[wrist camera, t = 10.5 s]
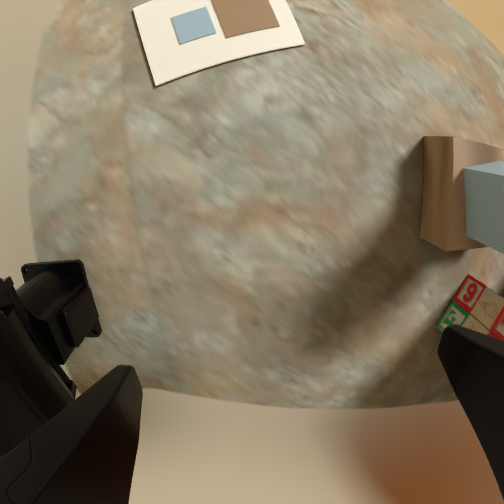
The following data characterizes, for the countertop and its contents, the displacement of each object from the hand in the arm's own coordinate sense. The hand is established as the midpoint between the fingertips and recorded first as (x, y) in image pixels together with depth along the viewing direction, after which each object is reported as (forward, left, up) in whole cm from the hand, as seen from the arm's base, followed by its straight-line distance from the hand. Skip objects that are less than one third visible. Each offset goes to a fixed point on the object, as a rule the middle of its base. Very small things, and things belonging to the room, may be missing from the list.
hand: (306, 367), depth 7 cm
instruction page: (-2, +15, -13) cm, 20 cm away
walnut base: (+17, +3, -13) cm, 22 cm away
